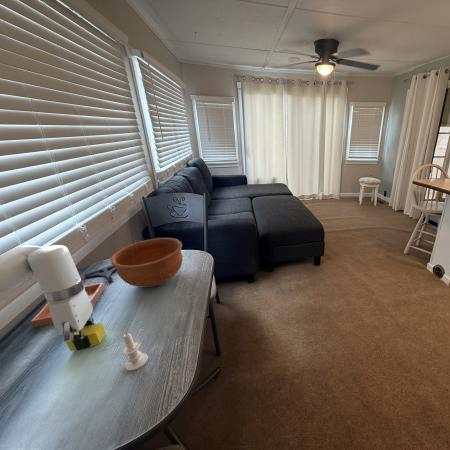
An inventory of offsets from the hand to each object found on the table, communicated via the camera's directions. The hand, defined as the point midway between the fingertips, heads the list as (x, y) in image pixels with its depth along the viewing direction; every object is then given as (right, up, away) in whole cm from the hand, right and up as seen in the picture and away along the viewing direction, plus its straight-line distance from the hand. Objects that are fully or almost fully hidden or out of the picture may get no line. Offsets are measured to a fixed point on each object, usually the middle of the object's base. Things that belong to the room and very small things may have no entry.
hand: (87, 340), depth 71 cm
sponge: (0, 0, 0) cm, 0 cm away
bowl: (+2, +10, +30) cm, 32 cm away
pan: (-20, +5, +16) cm, 26 cm away
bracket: (-22, +11, +35) cm, 43 cm away
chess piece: (+19, -3, -6) cm, 20 cm away
